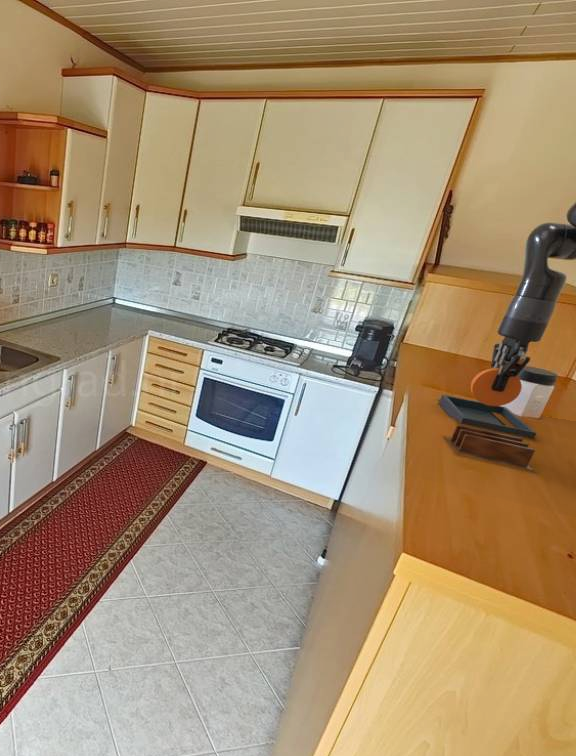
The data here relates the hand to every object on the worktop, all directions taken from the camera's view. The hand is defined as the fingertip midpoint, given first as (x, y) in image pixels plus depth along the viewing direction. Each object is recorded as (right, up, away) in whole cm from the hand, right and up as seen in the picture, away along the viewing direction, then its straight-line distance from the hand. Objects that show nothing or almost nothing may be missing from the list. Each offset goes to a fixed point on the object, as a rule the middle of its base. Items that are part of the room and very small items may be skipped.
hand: (495, 389), depth 115 cm
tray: (-1, -8, +3) cm, 9 cm away
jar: (+15, -7, +11) cm, 20 cm away
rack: (-17, -14, -17) cm, 27 cm away
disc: (-1, -4, +1) cm, 4 cm away
